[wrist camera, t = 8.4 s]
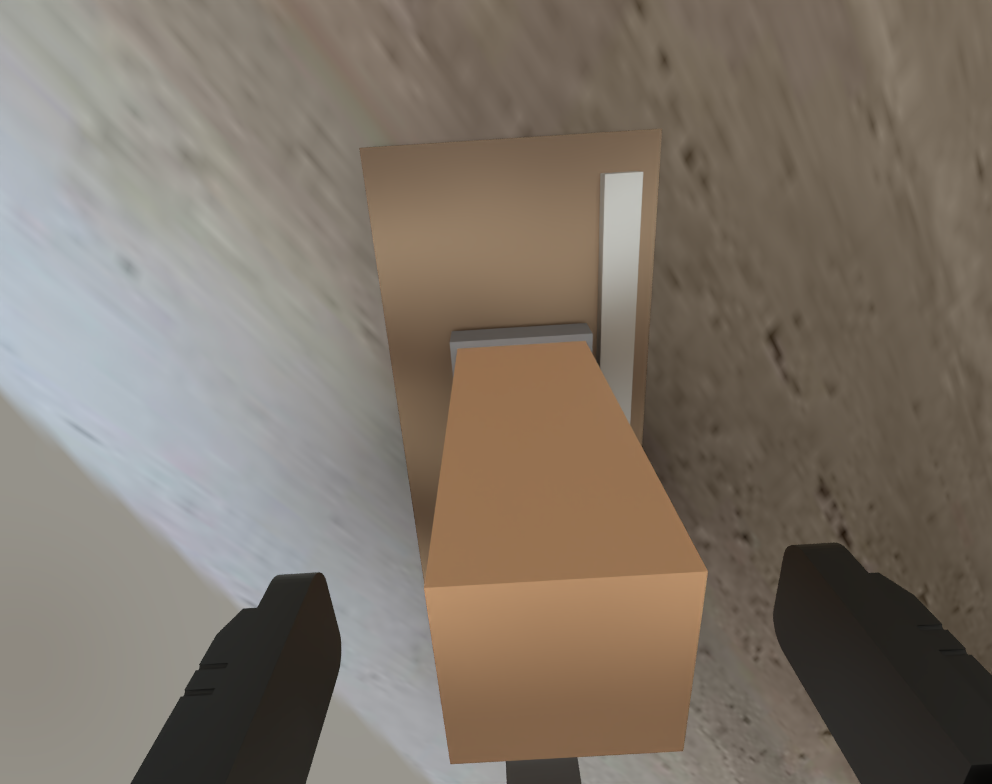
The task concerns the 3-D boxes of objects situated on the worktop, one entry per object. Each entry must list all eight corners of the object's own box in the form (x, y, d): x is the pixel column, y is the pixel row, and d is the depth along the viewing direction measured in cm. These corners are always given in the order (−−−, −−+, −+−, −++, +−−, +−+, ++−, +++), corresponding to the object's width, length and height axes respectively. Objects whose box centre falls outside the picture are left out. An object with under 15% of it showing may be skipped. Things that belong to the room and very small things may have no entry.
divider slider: (451, 331, 16) (405, 576, 7) (586, 323, 16) (725, 557, 7) (462, 448, 17) (439, 772, 8) (584, 440, 17) (694, 758, 8)
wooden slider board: (370, 148, 15) (299, 146, 10) (646, 130, 15) (747, 117, 9) (448, 701, 25) (437, 869, 19) (616, 692, 25) (657, 858, 19)
